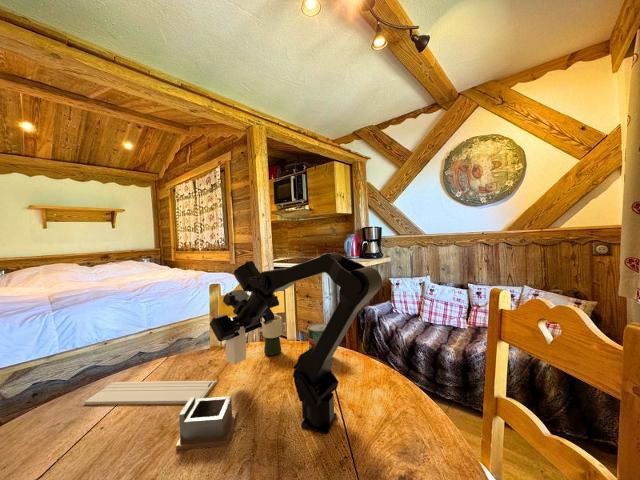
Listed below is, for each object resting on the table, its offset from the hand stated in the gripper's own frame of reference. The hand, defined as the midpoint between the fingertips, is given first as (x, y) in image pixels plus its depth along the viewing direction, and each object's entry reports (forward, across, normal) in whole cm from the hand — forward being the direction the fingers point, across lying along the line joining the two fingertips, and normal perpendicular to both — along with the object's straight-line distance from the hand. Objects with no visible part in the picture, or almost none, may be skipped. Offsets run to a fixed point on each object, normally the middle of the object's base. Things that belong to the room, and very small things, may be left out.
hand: (232, 336), depth 80 cm
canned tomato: (+1, -27, +18) cm, 32 cm away
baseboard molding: (+20, +15, 0) cm, 25 cm away
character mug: (+13, -20, +6) cm, 25 cm away
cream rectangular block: (+4, 0, +6) cm, 7 cm away
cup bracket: (+1, +16, +18) cm, 24 cm away
